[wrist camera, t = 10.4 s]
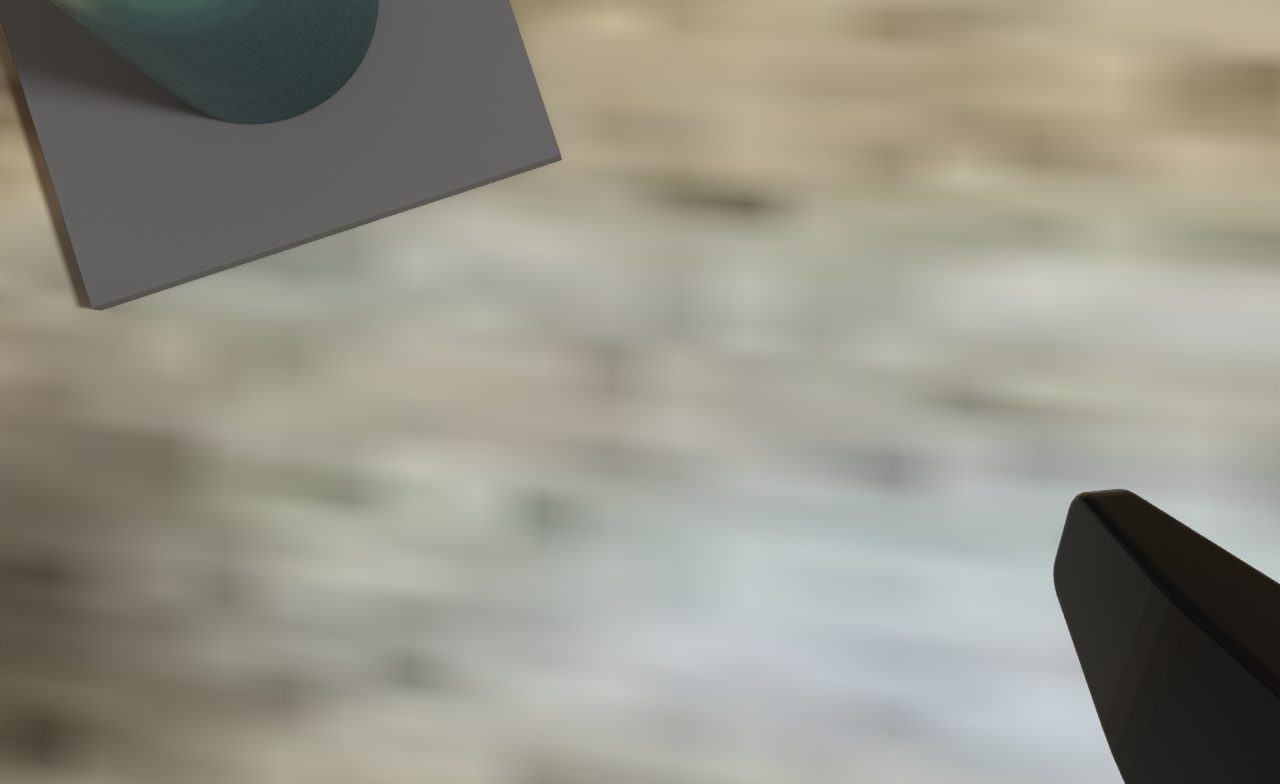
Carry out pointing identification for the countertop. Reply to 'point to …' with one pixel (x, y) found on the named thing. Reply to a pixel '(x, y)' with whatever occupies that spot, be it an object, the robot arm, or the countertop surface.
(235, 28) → the tin
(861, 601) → the countertop surface
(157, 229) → the mat
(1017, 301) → the countertop surface
